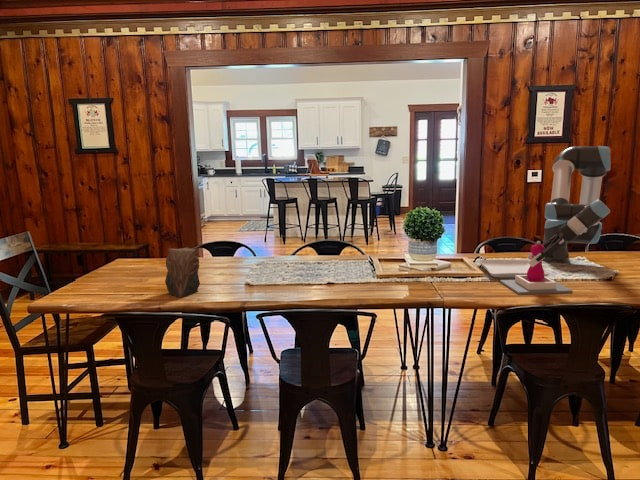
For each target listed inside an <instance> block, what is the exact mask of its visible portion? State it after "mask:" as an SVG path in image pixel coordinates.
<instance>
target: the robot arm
mask: <svg viewBox="0 0 640 480" xmlns="http://www.w3.org/2000/svg"><path fill="white" fill-rule="evenodd" d="M611 163H612V162H611V149H610V146H604V145H603V146H601V145H593V146H592V145H591V146H589V145H588V146H586V145H585V146H584V145H583V146H581V145H580V146H575V145H574V146H570V147H568V148H565V149H563V150H562V151H561V152H559V153H558V155H557V156H556V157H555V159H554V160H553V162H552V169H551V170H552V172H553V178H552V179H553V180H552V187H551V194H550V195H551V198H550V202H547V203H545V209H544V218H545V219H546V221H545V224H544V231H543V233H544V235H543V243H541V245H543V246H544V247H545V250H544V251H543V252H542V251H541V252H540V254H538V255H537V256H536V257H534V258H533V259H532V258H531V255H532V253H531V252H530V254H528V255H527V256H526V258H528V260H530V261H529V262H528V263H529V264H530V265H531V266H532V267H534V266H535V265H536V264H538V263H539V262H540V261H542V262H543V261H544V262H549V263H559V264H560V263H568V262H570V254H569V250H568V243H578V244H587V245H589V244H591V245H592V244H593V245H594V244H597V243H598V242H599V240H600V238H601V234H602V230H603V222H600V221H601V220H603V219H605V218H606V217H607V216H608V215H609V214H610V213H611V210H610V208H609V207H608V206H607V204H605V203H604V202H603V201H602V200H600V198H601V197H600V196H601V190H602V189H601V187H602V182H603V177H604V176H606V175H607V173H608V172H610V171H611V170H612V169H611ZM574 171H579V175H580V176H581V177H582V178H581V186H580V195H579V203H577V204H575V203H570V196H571V195H570V194H571V182H572V174H573V172H574Z"/></svg>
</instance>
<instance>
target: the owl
mask: <svg viewBox="0 0 640 480" xmlns="http://www.w3.org/2000/svg"><path fill="white" fill-rule="evenodd" d="M167 252H168V253H167V257H166V258H165V259H166V260H165V268H166V269H167V273H166V276H165V280H164V283H165V286H166V288H167V293H168V295H171V296H173V297H175V298H178V299H183V298H187V297H189V296H191V295H194V294H196V293H198V292H199V290H198V289H199V286H200V284H201V282H200V277H199V270H200V259H199V256H198V248H191V247H189V246H188V247H183V248H167Z"/></svg>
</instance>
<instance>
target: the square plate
mask: <svg viewBox="0 0 640 480" xmlns="http://www.w3.org/2000/svg"><path fill="white" fill-rule="evenodd" d="M529 261H530V259H527V260H525V259H480V260H479V259H478V260H477V262H478V263H479V264H480V266H481V267H482V268H484V269H485V270H486V271H487V272H488V273H489V275H490V276H491V277H493V278H500V279H501V278H502V279H515V275H527V271H528V269H529V267H530V266H531V265H530V264H529V263H528V262H529ZM543 270H544V276H545V277H548V276H549V275H550V273H549V272H548V271H547V270H545V269H544V268H543Z"/></svg>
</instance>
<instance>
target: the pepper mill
mask: <svg viewBox="0 0 640 480" xmlns="http://www.w3.org/2000/svg"><path fill="white" fill-rule="evenodd" d="M541 244H542V243H541V241H540V240H537V241H536V243H535V244H533V245H532V246H531V247H530V254H531V253H532V255H531V258H532V259H533V258H534V257H536V256H537V255H538V254H540V252H541V251H542V252H543V251H544V250H545V247H544V246H543V245H541ZM543 269H544V267H543V260H542V261H540V262H539V263H538V264H536V265H535V266H534V267H532V266H530V267H529V269H528V271H527V277H528V278H529V279H528V280H527V281H529V282H543V281H542V279H543V278H544V270H545V269H544V270H543Z"/></svg>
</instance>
